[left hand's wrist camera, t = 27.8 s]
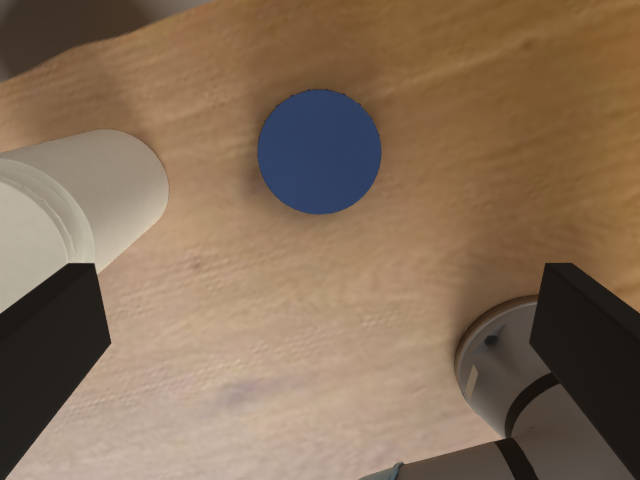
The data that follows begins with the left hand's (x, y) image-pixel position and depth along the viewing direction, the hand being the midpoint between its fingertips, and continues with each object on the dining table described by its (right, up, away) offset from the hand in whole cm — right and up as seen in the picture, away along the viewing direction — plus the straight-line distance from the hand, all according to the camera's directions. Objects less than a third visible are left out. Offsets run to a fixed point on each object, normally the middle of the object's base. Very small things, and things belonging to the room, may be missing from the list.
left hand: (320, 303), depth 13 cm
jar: (-18, +7, +25) cm, 32 cm away
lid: (0, +9, +23) cm, 24 cm away
